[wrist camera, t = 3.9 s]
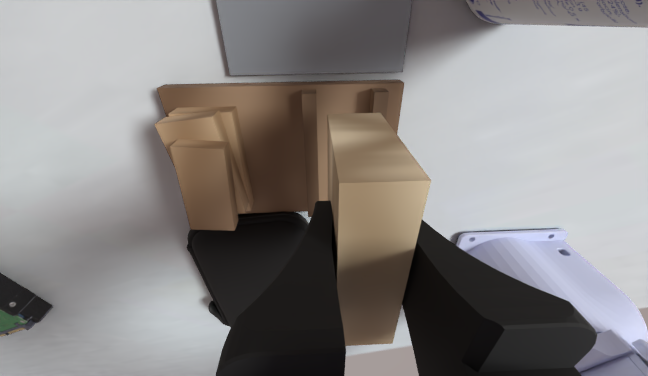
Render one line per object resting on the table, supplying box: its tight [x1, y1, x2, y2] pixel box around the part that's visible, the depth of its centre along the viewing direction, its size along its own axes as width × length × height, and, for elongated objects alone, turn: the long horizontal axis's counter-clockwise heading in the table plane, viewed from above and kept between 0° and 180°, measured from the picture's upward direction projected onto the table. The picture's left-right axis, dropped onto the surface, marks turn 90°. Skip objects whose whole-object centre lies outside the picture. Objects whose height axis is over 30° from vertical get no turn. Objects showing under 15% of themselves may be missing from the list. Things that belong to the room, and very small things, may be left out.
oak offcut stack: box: [154, 106, 254, 231], centre depth 16 cm, size 4×7×3 cm, turn 1°
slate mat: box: [216, 0, 412, 75], centre depth 14 cm, size 10×6×1 cm, turn 91°
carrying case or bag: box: [187, 211, 309, 327], centre depth 24 cm, size 11×3×15 cm
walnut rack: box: [157, 80, 404, 217], centre depth 17 cm, size 14×9×2 cm, turn 91°
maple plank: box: [327, 113, 431, 346], centre depth 12 cm, size 2×8×6 cm, turn 1°
